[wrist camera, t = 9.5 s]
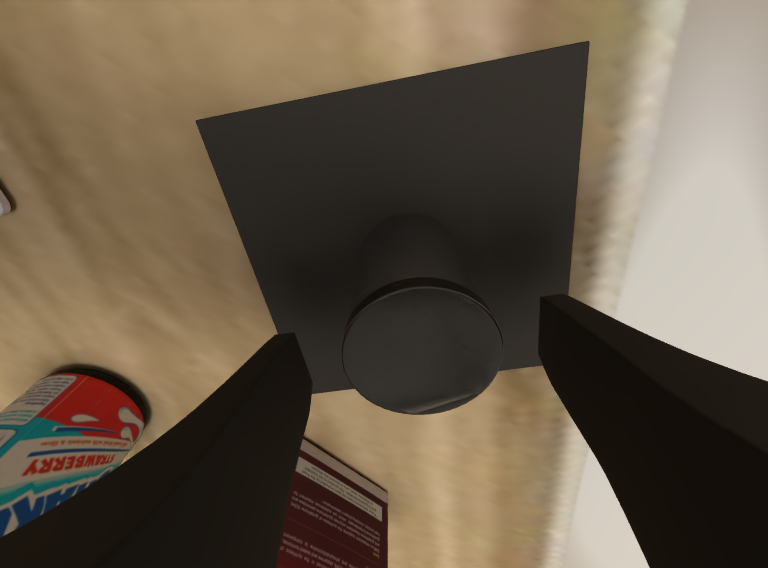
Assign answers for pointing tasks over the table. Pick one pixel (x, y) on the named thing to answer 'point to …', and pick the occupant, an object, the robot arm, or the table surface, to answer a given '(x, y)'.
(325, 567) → the supplement box
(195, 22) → the table surface
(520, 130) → the mat
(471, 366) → the spice tin
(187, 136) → the table surface
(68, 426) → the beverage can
